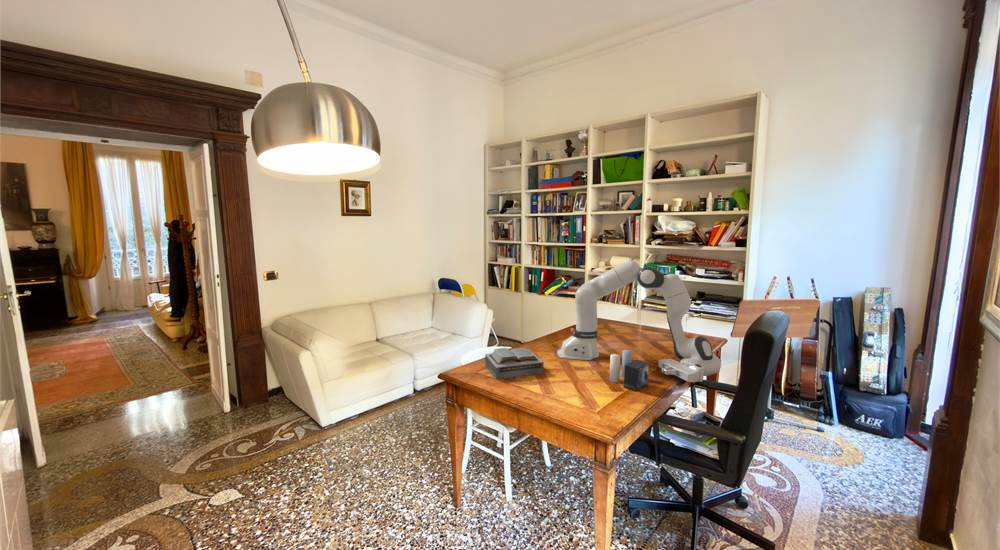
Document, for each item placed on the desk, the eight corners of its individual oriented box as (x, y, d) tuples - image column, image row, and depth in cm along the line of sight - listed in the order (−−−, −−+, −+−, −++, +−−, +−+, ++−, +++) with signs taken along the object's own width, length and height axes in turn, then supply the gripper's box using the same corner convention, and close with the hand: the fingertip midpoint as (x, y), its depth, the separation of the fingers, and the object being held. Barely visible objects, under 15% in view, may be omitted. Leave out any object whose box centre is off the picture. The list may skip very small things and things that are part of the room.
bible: (484, 363, 206) (484, 344, 205) (535, 361, 210) (535, 342, 208) (488, 380, 184) (488, 360, 182) (545, 378, 187) (546, 357, 186)
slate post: (622, 377, 186) (623, 352, 184) (620, 374, 190) (621, 349, 189) (632, 377, 186) (633, 352, 184) (629, 374, 190) (630, 349, 189)
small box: (636, 392, 170) (637, 368, 169) (622, 387, 175) (623, 364, 174) (649, 385, 177) (650, 362, 176) (635, 381, 182) (636, 358, 181)
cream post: (610, 382, 180) (611, 356, 179) (608, 378, 185) (609, 353, 183) (620, 382, 180) (621, 356, 179) (618, 378, 184) (619, 353, 183)
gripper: (673, 354, 193) (649, 357, 189) (706, 369, 174) (680, 372, 170) (672, 367, 194) (648, 370, 190) (705, 383, 175) (679, 386, 171)
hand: (663, 371), depth 180 cm, fingers closed
